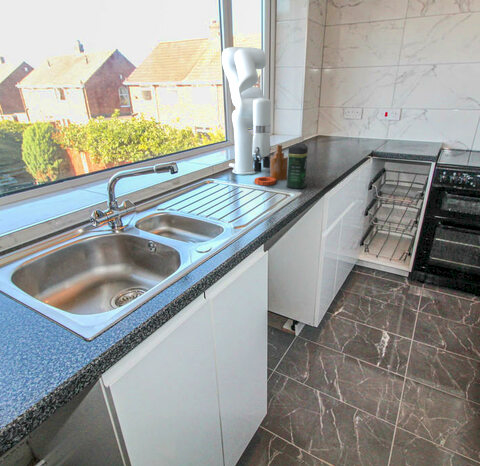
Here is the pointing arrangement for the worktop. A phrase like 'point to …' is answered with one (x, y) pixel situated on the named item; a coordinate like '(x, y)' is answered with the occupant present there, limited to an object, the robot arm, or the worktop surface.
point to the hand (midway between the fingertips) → (262, 169)
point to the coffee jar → (297, 166)
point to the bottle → (279, 164)
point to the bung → (265, 181)
